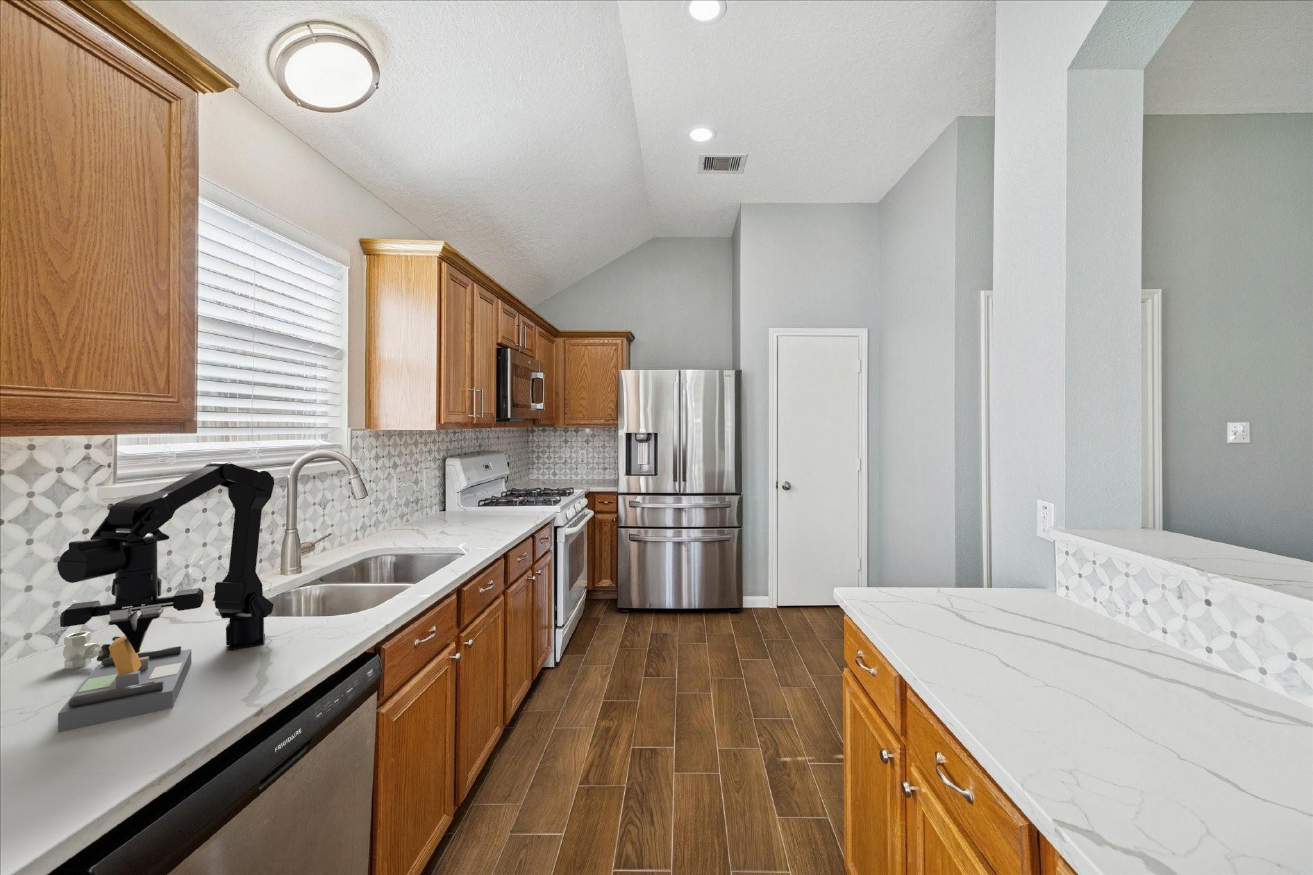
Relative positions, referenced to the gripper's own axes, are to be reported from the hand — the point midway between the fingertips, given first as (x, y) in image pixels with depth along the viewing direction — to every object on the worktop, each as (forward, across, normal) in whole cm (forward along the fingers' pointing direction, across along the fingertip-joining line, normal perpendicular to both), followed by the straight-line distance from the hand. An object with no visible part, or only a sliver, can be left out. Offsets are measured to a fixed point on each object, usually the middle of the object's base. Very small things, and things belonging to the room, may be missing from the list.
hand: (137, 652), depth 102 cm
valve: (+8, +10, -20) cm, 24 cm away
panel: (+8, +1, 0) cm, 8 cm away
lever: (+4, +1, 0) cm, 5 cm away
